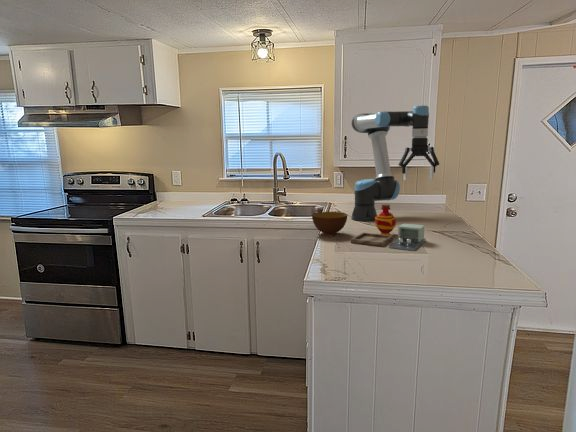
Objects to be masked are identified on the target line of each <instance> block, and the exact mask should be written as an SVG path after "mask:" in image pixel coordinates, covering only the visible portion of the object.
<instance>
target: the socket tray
mask: <svg viewBox="0 0 576 432" xmlns="http://www.w3.org/2000/svg"><path fill="white" fill-rule="evenodd" d="M392 240H394V235H392V234H390V235H382V234H380V233H372V232H362V233H360V234H358V235H356V236H354V237H352V238H351V239H350V243H351V244H356V245H357V244H358V245H365V246H375V247H382V248H383V247H384V246H386V245H387V244H388V243H390V242H392Z"/></svg>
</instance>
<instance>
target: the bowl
mask: <svg viewBox="0 0 576 432" xmlns="http://www.w3.org/2000/svg"><path fill="white" fill-rule="evenodd" d="M311 218H312V222H313V224H314V226H315V228H316V229H317V230H318V231H319V232H321V233H323V235H324V234H325V235H324V236H327V235H332V236H336V235H337V233H338V232H339V233H340V231H342V229H343V228H344V227H345V226H346V223H347V220H348V214H347V213H345V212H340V211H339V212H338V211H323V212H322V211H320V212H314V213H313V214H311ZM335 234H336V235H335Z"/></svg>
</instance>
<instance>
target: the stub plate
mask: <svg viewBox="0 0 576 432" xmlns="http://www.w3.org/2000/svg"><path fill="white" fill-rule="evenodd" d="M426 240H427V238H426V237H424V239H423V240H422V241H420V242H418V238H409V237H403V238H399V240H398V238H397V239H396V240H395V241H394V242H392V243H391V244H389V245H388V248H389V249H396V250H405V251H413V252H414V251H416V250H417V249H418V248H419V247H420V246H421V245H423V244H424V243H425V242H426Z"/></svg>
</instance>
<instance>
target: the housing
mask: <svg viewBox="0 0 576 432" xmlns="http://www.w3.org/2000/svg"><path fill="white" fill-rule="evenodd" d="M397 230H398V232H397V239H398V240H399V238H403V237H409V238H418V242H420V241H422V240H423V239H424V238H425V225H423V224H414V223H413V224H412V223H402V224H400V225H399V226H398V229H397Z"/></svg>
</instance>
